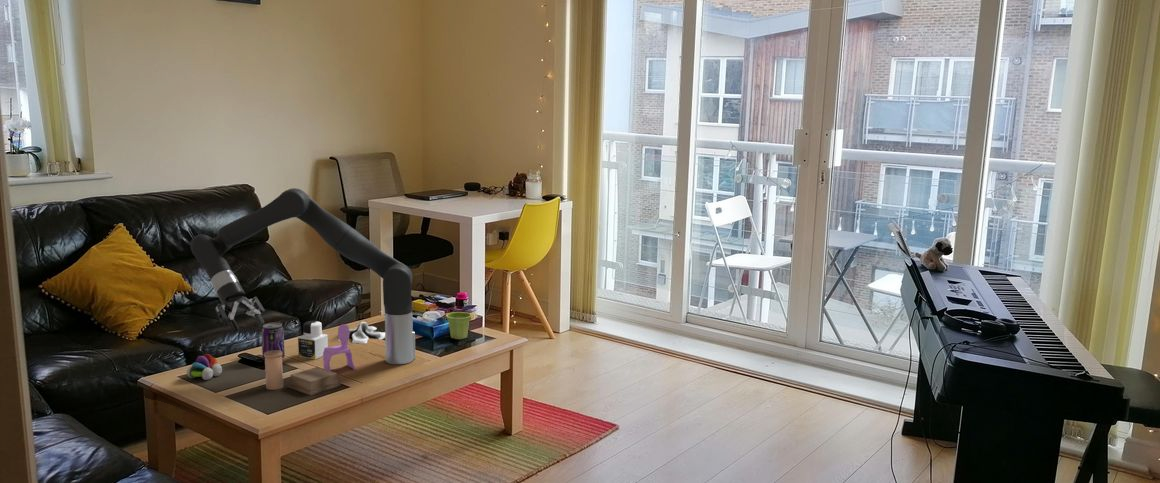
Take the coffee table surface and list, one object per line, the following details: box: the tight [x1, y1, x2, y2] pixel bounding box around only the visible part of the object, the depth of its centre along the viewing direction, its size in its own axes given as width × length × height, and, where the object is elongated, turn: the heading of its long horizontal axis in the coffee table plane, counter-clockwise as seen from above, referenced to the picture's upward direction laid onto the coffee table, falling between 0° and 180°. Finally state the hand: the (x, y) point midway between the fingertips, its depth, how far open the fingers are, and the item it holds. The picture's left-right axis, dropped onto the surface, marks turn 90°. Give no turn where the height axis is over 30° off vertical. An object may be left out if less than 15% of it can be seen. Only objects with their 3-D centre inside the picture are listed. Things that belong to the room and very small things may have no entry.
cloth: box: [337, 321, 385, 345], centre depth 321 cm, size 22×19×6 cm
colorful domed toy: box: [186, 353, 223, 381], centre depth 274 cm, size 8×10×7 cm
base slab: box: [287, 366, 342, 396], centre depth 267 cm, size 11×11×4 cm
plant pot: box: [445, 311, 472, 340], centre depth 322 cm, size 9×9×9 cm
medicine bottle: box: [297, 320, 329, 360], centre depth 297 cm, size 7×7×12 cm
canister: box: [264, 350, 284, 391], centre depth 266 cm, size 5×5×11 cm
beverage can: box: [261, 322, 286, 359], centre depth 292 cm, size 7×7×12 cm
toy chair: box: [322, 323, 356, 371], centre depth 282 cm, size 8×9×15 cm
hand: (250, 328), depth 270 cm, fingers open, 8 cm apart
